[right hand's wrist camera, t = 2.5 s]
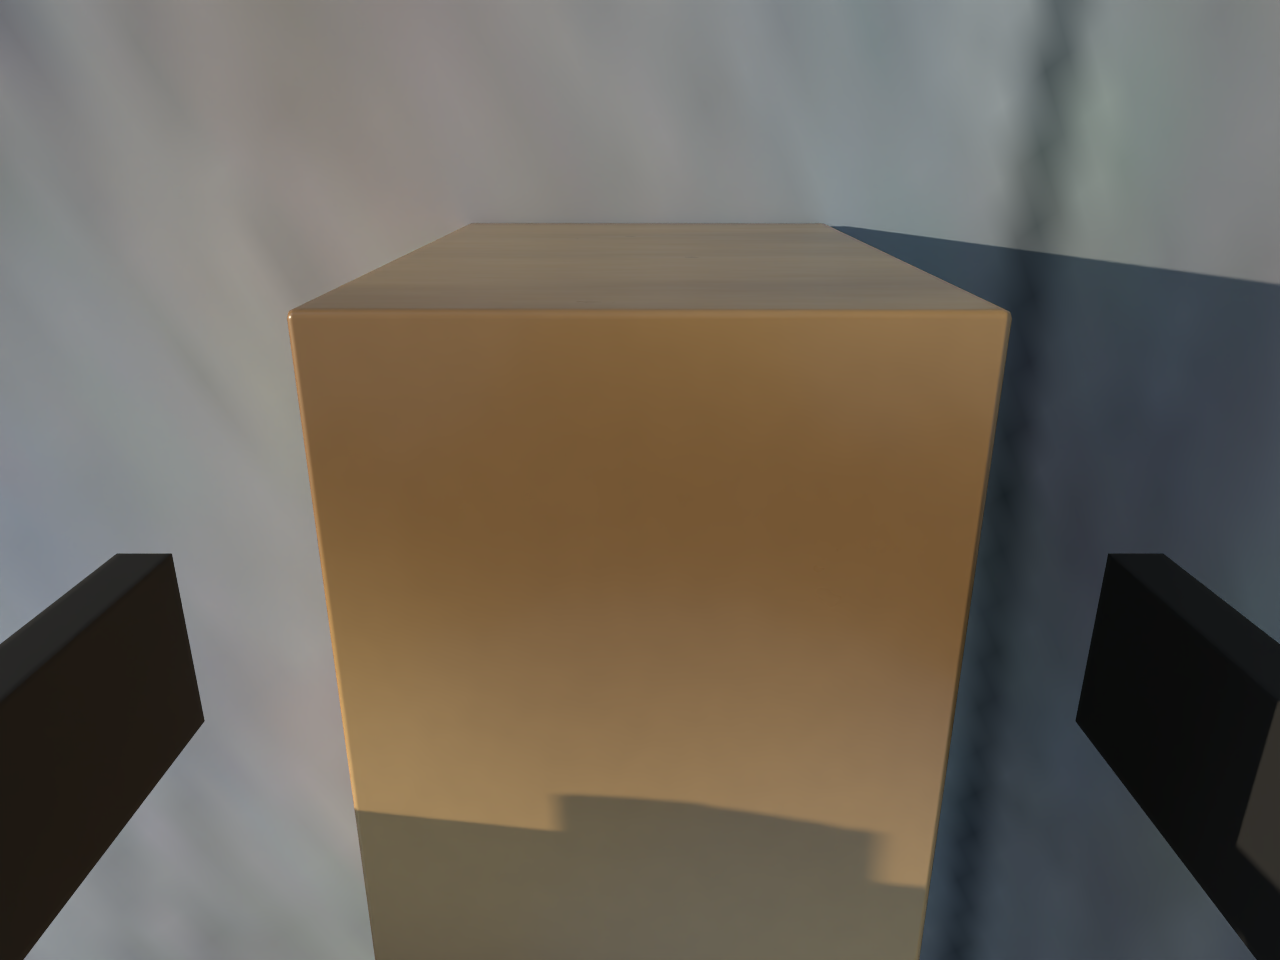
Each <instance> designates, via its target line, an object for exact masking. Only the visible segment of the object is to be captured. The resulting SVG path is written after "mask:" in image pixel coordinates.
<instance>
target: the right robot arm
mask: <svg viewBox="0 0 1280 960" xmlns="http://www.w3.org/2000/svg"><path fill="white" fill-rule="evenodd" d="M203 722H204V716H203V711H202V706H201V701H200V695H199V690H198V685H197V680H196V675H195V670H194V665H193V660H192V655H191V649H190V644H189V639H188V634H187V629H186V624H185V619H184V614H183V609H182V603H181V598H180V593H179V588H178V583H177V578H176V573H175V568H174V563H173V557H172V554H116V555H115V556H113V557H112V558H111V559H109V560H108V561H107V562H106V563H104V564H103V565H102V566H100V567H99V568H98V569H97V570H95V571H94V572H93V573H91V574H90V575H89V576H88V577H86V578H85V579H84V580H82V581H81V582H80V583H79V584H77V585H76V586H75V587H73V588H72V589H71V590H69V591H68V592H67V593H66V594H64V595H63V596H62V597H60V598H59V599H58V600H57V601H55V602H54V603H53V604H51V605H50V606H49V607H48V608H46V609H45V610H44V611H42V612H41V613H40V614H39V615H37V616H36V617H35V618H33V619H32V620H31V621H30V622H28V623H27V624H26V625H24V626H23V627H22V628H21V629H19V630H18V631H17V632H15V633H14V634H13V635H12V636H10V637H9V638H8V639H6V640H5V641H4V642H3V643H1V644H0V960H23V959H24V958H25V957H26V955H27V954H28V953H29V952H30V950H31V949H32V948H33V946H34V945H35V944H36V942H37V941H38V940H39V938H40V937H41V936H42V934H43V933H44V932H45V930H46V929H47V928H48V926H49V925H50V924H51V923H52V921H53V920H54V919H55V917H56V916H57V915H58V913H59V912H60V911H61V909H62V908H63V907H64V905H65V904H66V903H67V901H68V900H69V899H70V898H71V896H72V895H73V894H74V892H75V891H76V890H77V888H78V887H79V886H80V884H81V883H82V882H83V880H84V879H85V878H86V876H87V875H88V874H89V873H90V871H91V870H92V869H93V867H94V866H95V865H96V863H97V862H98V861H99V859H100V858H101V857H102V855H103V854H104V853H105V851H106V850H107V849H108V847H109V846H110V845H111V844H112V842H113V841H114V840H115V838H116V837H117V836H118V834H119V833H120V832H121V830H122V829H123V828H124V826H125V825H126V824H127V822H128V821H129V820H130V819H131V817H132V816H133V815H134V813H135V812H136V811H137V809H138V808H139V807H140V805H141V804H142V803H143V801H144V800H145V799H146V797H147V796H148V795H149V793H150V792H151V791H152V790H153V788H154V787H155V786H156V784H157V783H158V782H159V780H160V779H161V778H162V776H163V775H164V774H165V772H166V771H167V770H168V768H169V767H170V766H171V765H172V763H173V762H174V761H175V759H176V758H177V757H178V755H179V754H180V753H181V751H182V750H183V749H184V747H185V746H186V745H187V743H188V742H189V741H190V740H191V738H192V737H193V736H194V734H195V733H196V732H197V730H198V729H199V728H200V726H201V725H202V724H203ZM1076 722H1077V724H1078V725H1079V726H1080V728H1081V729H1082V730H1083V732H1084V733H1085V734H1086V736H1087V737H1088V738H1089V739H1090V741H1091V742H1092V743H1093V745H1094V746H1095V747H1096V749H1097V750H1098V751H1099V753H1100V754H1101V755H1102V757H1103V758H1104V759H1105V761H1106V762H1107V763H1108V764H1109V766H1110V767H1111V768H1112V770H1113V771H1114V772H1115V774H1116V775H1117V776H1118V778H1119V779H1120V780H1121V782H1122V783H1123V784H1124V786H1125V787H1126V788H1127V790H1128V791H1129V792H1130V793H1131V795H1132V796H1133V797H1134V799H1135V800H1136V801H1137V803H1138V804H1139V805H1140V807H1141V808H1142V809H1143V811H1144V812H1145V813H1146V815H1147V816H1148V817H1149V818H1150V820H1151V821H1152V822H1153V824H1154V825H1155V826H1156V828H1157V829H1158V830H1159V832H1160V833H1161V834H1162V836H1163V837H1164V838H1165V840H1166V841H1167V842H1168V843H1169V845H1170V846H1171V847H1172V849H1173V850H1174V851H1175V853H1176V854H1177V855H1178V857H1179V858H1180V859H1181V861H1182V862H1183V863H1184V865H1185V866H1186V867H1187V869H1188V870H1189V871H1190V872H1191V874H1192V875H1193V876H1194V878H1195V879H1196V880H1197V882H1198V883H1199V884H1200V886H1201V887H1202V888H1203V890H1204V891H1205V892H1206V894H1207V895H1208V896H1209V897H1210V899H1211V900H1212V901H1213V903H1214V904H1215V905H1216V907H1217V908H1218V909H1219V911H1220V912H1221V913H1222V915H1223V916H1224V917H1225V919H1226V920H1227V921H1228V923H1229V924H1230V925H1231V926H1232V928H1233V929H1234V930H1235V932H1236V933H1237V934H1238V936H1239V937H1240V938H1241V940H1242V941H1243V942H1244V944H1245V945H1246V946H1247V948H1248V949H1249V950H1250V951H1251V953H1252V954H1253V955H1254V957H1255V958H1256V959H1257V960H1280V644H1279V643H1278V642H1276V641H1275V640H1274V639H1272V638H1271V637H1270V636H1269V635H1267V634H1266V633H1265V632H1263V631H1262V630H1261V629H1259V628H1258V627H1257V626H1256V625H1254V624H1253V623H1252V622H1250V621H1249V620H1248V619H1247V618H1245V617H1244V616H1243V615H1241V614H1240V613H1239V612H1238V611H1236V610H1235V609H1234V608H1232V607H1231V606H1230V605H1229V604H1227V603H1226V602H1225V601H1223V600H1222V599H1221V598H1220V597H1218V596H1217V595H1216V594H1214V593H1213V592H1212V591H1211V590H1209V589H1208V588H1207V587H1205V586H1204V585H1203V584H1202V583H1200V582H1199V581H1198V580H1196V579H1195V578H1194V577H1193V576H1191V575H1190V574H1189V573H1187V572H1186V571H1185V570H1183V569H1182V568H1181V567H1180V566H1178V565H1177V564H1176V563H1174V562H1173V561H1172V560H1171V559H1169V558H1168V557H1167V556H1165V555H1164V554H1108V558H1107V563H1106V568H1105V573H1104V578H1103V583H1102V588H1101V593H1100V599H1099V604H1098V609H1097V614H1096V619H1095V624H1094V629H1093V634H1092V639H1091V645H1090V650H1089V655H1088V660H1087V665H1086V670H1085V675H1084V680H1083V685H1082V691H1081V696H1080V701H1079V706H1078V711H1077V716H1076Z"/></svg>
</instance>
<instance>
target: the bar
mask: <svg viewBox="0 0 1280 960" xmlns="http://www.w3.org/2000/svg"><path fill="white" fill-rule="evenodd" d="M287 321H288V328H289V335H290V342H291V350H292V357H293V364H294V372H295V379H296V386H297V393H298V401H299V408H300V415H301V422H302V430H303V437H304V444H305V452H306V459H307V466H308V473H309V481H310V488H311V495H312V502H313V510H314V517H315V524H316V532H317V539H318V546H319V553H320V561H321V568H322V575H323V583H324V590H325V597H326V604H327V612H328V619H329V626H330V633H331V641H332V648H333V655H334V663H335V670H336V677H337V684H338V692H339V699H340V706H341V714H342V721H343V728H344V735H345V743H346V750H347V757H348V764H349V772H350V779H351V786H352V794H353V801H354V808H355V815H356V823H357V830H358V837H359V844H360V852H361V859H362V866H363V874H364V881H365V888H366V895H367V903H368V910H369V917H370V925H371V932H372V939H373V946H374V954H375V960H919V957H920V950H921V943H922V936H923V929H924V922H925V915H926V908H927V901H928V895H929V888H930V881H931V874H932V867H933V860H934V853H935V846H936V839H937V832H938V825H939V818H940V812H941V805H942V798H943V791H944V784H945V777H946V770H947V763H948V756H949V749H950V742H951V736H952V729H953V722H954V715H955V708H956V701H957V694H958V687H959V680H960V673H961V666H962V659H963V653H964V646H965V639H966V632H967V625H968V618H969V611H970V604H971V597H972V590H973V583H974V577H975V570H976V563H977V556H978V549H979V542H980V535H981V528H982V521H983V514H984V507H985V500H986V494H987V487H988V480H989V473H990V466H991V459H992V452H993V445H994V438H995V431H996V424H997V418H998V411H999V404H1000V397H1001V390H1002V383H1003V376H1004V369H1005V362H1006V355H1007V348H1008V341H1009V335H1010V328H1011V321H1012V317H1011V313H1010V312H1009V311H1007V310H1005V309H1003V308H1001V307H999V306H997V305H995V304H993V303H990V302H988V301H986V300H984V299H982V298H980V297H978V296H976V295H974V294H971V293H969V292H967V291H965V290H963V289H961V288H959V287H957V286H955V285H952V284H950V283H948V282H946V281H944V280H942V279H940V278H938V277H936V276H933V275H931V274H929V273H927V272H925V271H923V270H921V269H919V268H917V267H914V266H912V265H910V264H908V263H906V262H904V261H902V260H900V259H898V258H895V257H893V256H891V255H889V254H887V253H885V252H883V251H881V250H879V249H876V248H874V247H872V246H870V245H868V244H866V243H864V242H862V241H860V240H857V239H855V238H853V237H851V236H849V235H847V234H845V233H843V232H841V231H838V230H836V229H834V228H832V227H830V226H828V225H826V224H777V223H471V224H469V225H467V226H465V227H463V228H461V229H459V230H456V231H454V232H452V233H450V234H448V235H446V236H444V237H442V238H440V239H438V240H436V241H434V242H431V243H429V244H427V245H425V246H423V247H421V248H419V249H417V250H415V251H413V252H411V253H409V254H407V255H404V256H402V257H400V258H398V259H396V260H394V261H392V262H390V263H388V264H386V265H384V266H382V267H380V268H377V269H375V270H373V271H371V272H369V273H367V274H365V275H363V276H361V277H359V278H357V279H355V280H353V281H350V282H348V283H346V284H344V285H342V286H340V287H338V288H336V289H334V290H332V291H330V292H328V293H325V294H323V295H321V296H319V297H317V298H315V299H313V300H311V301H309V302H307V303H305V304H303V305H301V306H298V307H296V308H294V309H292V310H290V311H289V313H288V316H287Z"/></svg>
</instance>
